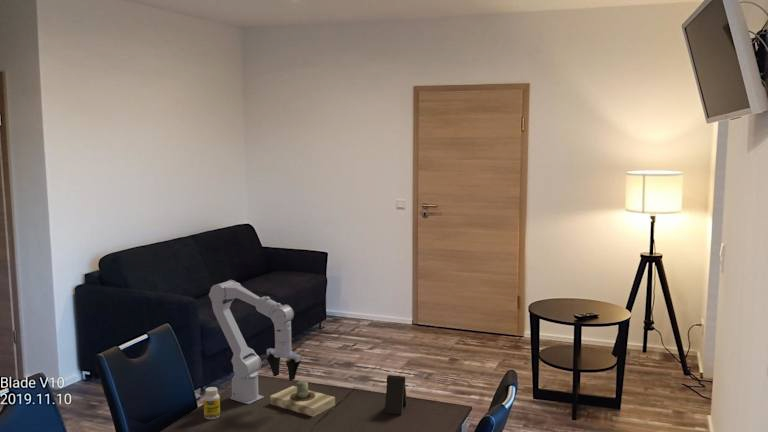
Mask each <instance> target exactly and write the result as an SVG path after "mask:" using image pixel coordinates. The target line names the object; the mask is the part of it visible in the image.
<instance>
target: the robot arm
mask: <svg viewBox="0 0 768 432" xmlns="http://www.w3.org/2000/svg"><path fill="white" fill-rule="evenodd" d="M208 297H209V298H210V301H211V306H212V310H213V311H212V312H213V313H214V316H215V318H216V320H217V322H218V324H219V326H220V328H221V330H222V332H223V334H224V337H225V339H226V340H227V343H228V346H229V347H230V349H231V352H232V353H233V355H232V358H231V360H230V361H231V364H232V367H233V368H232V369H233V374H234V375H233V376H232V379H231V396H230V398H229V399H231V400H232V401H233V400H234V401H236V402H239V403H242V404H247V405H250V404H253V403H254V402H257V401H260V400H262V399H263V398H264V397H265V396H264V395H261V394H259V372H260V371H259V370H260V369H261V367H262V364H263V363H262V359H261V357H260V356H259V355H258V354H257V353H256V352H255V350H254V349H253V348H251V347H249V346H248V344H247V343H246V340H245V338H244V337H243V334H242V332H241V331H240V328H239V325H238V324H237V322H236V320H235V317H234V315H233V313H232V311H231V309H230V307H231V305H232V302H233V301H234V299H238V300H241V301H243V302H244V303H248V304H250V305H252V306H254V307H255V309H256V311H257V312H259V313H260V314H262V315H264V316H266V317H268V318H270V319H271V321H272V324H273V328H274V348H271V347H269V348H266V355H267V357H266V360H267V362H268V364H269V366H270V369H271V371H272V375H273V377H277V376H279V374H280V362H281V358H282V359H285V360H288V361H286V362H285V364H286V367H287V370H288V371H287V372H288V380H289V382H290V381H293V380H296V375H297V371H298V368H299V366H300V365H301V362H302V355H301V354H298V353H296V352H294V351H292V320H293V319H294V316H295V311H294V309H293V307H291V306H290V305H289V304H281V303H280V302H276V301H275V300H272V299H271V297H270V296H262V297H260V296H259V295H257V294H255V293H253V292H252V291H251V290H248V289H247V288H245V287H244V286H243V285H242V284H241V283H239V282H237V281H236V280H233V279H229V280H227V281H224V282H221V283H217V284H213V285H212V286H211V287H210V291H209V293H208Z"/></svg>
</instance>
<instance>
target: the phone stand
mask: <svg viewBox="0 0 768 432" xmlns="http://www.w3.org/2000/svg"><path fill="white" fill-rule="evenodd" d="M406 390H407V389H406V376H403V375H390V374H388V375H387V376H386V390H385V391H386V392H385V403H384V414H389V415H397V414H398V415H399V416H402V415H403V413H404V412H405V410H406V408H407V407H408V400H407V399H408V398H407V391H406ZM406 406H407V407H406ZM403 411H404V412H403Z"/></svg>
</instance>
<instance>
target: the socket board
mask: <svg viewBox="0 0 768 432" xmlns="http://www.w3.org/2000/svg"><path fill="white" fill-rule="evenodd" d="M269 397H270V398H269V399H270V401H269V402H270V405H272V406H276V407H279V408H282V409H285V410H289V411H293V412H296V413H299V414H303V415H306V416H310V417H313V418H314V417H315V416H317V415H319V414H321V413H323V412H325V411H327V410H329V409H331V408H333V407H335V406H336V397H335V396H332V395H329V394H325V393H321V392H319V391H318V392H317V391H314V390H309V389H308V398H307V399H297V386H296V385H295V386H294V385H291V386H289V387H288V388H285V389H283V390H280V391H279V392H276V393H273V394H271V395H270V396H269Z"/></svg>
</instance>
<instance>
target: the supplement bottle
mask: <svg viewBox="0 0 768 432" xmlns="http://www.w3.org/2000/svg"><path fill="white" fill-rule="evenodd" d="M204 390H205V395H204V396H203V417H204V418H205V419H207V420H215V419H218V418H219V417H221V399H220V398H221V397H220V396H221V395H220V394H218V392H219V391H218V388H217V387H216V386H209V387H206V388H205V389H204Z"/></svg>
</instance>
